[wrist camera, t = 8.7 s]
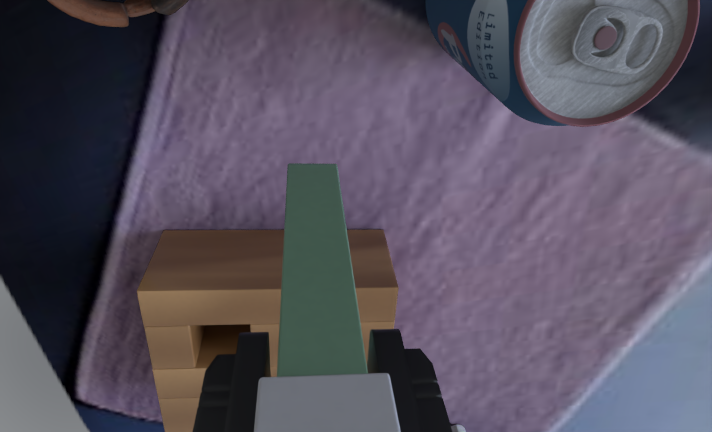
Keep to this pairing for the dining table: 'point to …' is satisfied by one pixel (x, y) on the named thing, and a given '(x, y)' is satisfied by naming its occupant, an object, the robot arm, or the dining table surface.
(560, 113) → the soda can
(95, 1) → the broken clay pot
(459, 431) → the egg carton
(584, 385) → the dining table surface
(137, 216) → the dining table surface
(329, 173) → the green bar with cap
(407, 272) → the dining table surface
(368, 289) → the holder
